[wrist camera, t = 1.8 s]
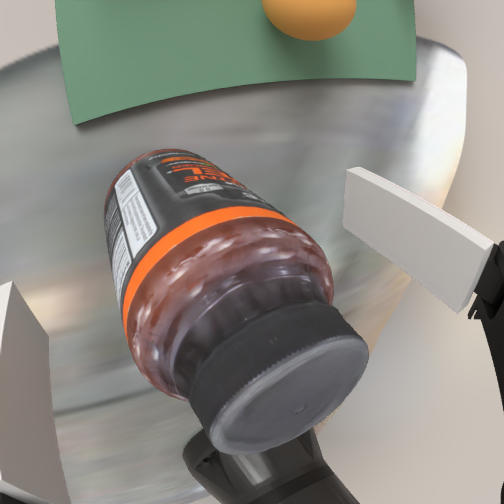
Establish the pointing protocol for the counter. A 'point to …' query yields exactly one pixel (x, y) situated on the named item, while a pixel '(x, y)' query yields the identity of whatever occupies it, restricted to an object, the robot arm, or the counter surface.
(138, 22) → the pitch mat
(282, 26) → the ball
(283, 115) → the counter surface
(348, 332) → the supplement bottle
